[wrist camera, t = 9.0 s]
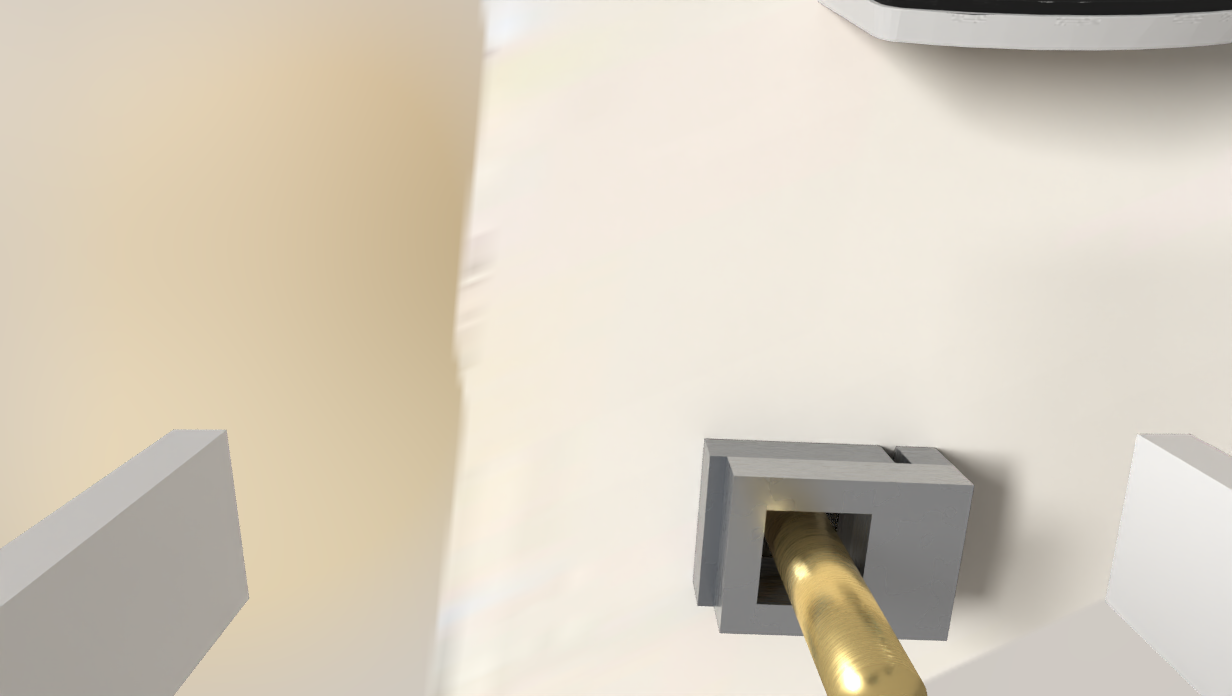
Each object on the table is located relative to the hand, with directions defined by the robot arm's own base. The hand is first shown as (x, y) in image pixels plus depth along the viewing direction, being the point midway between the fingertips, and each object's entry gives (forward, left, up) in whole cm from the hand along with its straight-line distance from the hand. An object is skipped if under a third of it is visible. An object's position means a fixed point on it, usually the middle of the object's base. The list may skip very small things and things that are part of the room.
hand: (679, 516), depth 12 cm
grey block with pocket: (-9, +13, -27) cm, 31 cm away
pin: (-9, +13, -27) cm, 31 cm away
